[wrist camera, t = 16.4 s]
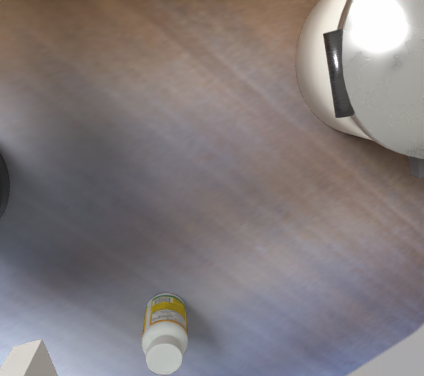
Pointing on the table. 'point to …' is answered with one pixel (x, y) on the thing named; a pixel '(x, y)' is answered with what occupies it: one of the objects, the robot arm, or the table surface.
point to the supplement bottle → (165, 333)
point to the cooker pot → (327, 72)
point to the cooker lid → (380, 71)
